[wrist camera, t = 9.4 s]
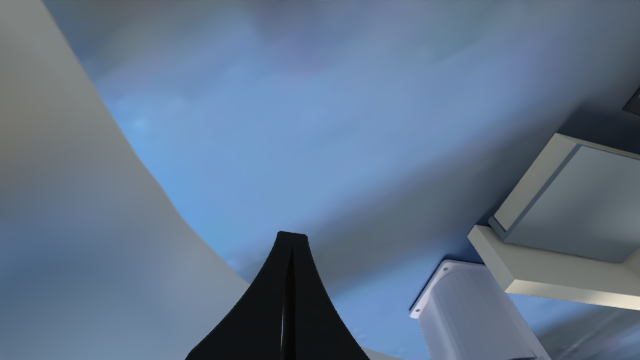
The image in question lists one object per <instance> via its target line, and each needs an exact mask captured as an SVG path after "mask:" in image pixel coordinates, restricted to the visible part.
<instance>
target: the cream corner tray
mask: <svg viewBox="0 0 640 360" xmlns="http://www.w3.org/2000/svg"><path fill="white" fill-rule="evenodd" d="M467 237H468V239H469V240H470V242H471V243H472V245H473V246H474V248H475V249H476V251H477V252H478V254H479V255H480V257H481V258H482V260H483V261H484V263H485V264H486V266H487V267H488V269H489V270H490V272H491V273H492V275H493V276H494V278H495V279H496V281H497V282H498V284H499V285H500V287H501V288H502V290H503V291H504V292H507V293H515V294H522V295H530V296H537V297H545V298H552V299H560V300H567V301H575V302H583V303H590V304H598V305H605V306H613V307H620V308H628V309H635V310H640V247H639V248H638V249H637V250H636V251H634V252H633V253H632V254H631V255H630V256H628V257H627V258H626V259H625V260H624V261H622V262H621V263H615V262H610V261H605V260H599V259H594V258H589V257H583V256H578V255H573V254H567V253H562V252H557V251H551V250H546V249H541V248H535V247H530V246H525V245H519V244H514V243H509V242H504V241H503V240H502V239H501V238H500V236H499V235H498V234H497V233H496V231H495V230H494V229H493V228H492V227H486V226H480V225H474V227H473V228H472V230H471V231H470V233H469V234H468V236H467Z"/></svg>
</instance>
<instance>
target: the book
mask: <svg viewBox="0 0 640 360" xmlns="http://www.w3.org/2000/svg"><path fill="white" fill-rule="evenodd" d="M487 222H488V223H489V224H490V225H491V226H492V228H493V229H494V230H495V231H496V233H497V234H498V235H499V236H500V238H501V239H502V240H503V241H504V242H509V243H514V244H519V245H525V246H530V247H535V248H541V249H546V250H551V251H557V252H562V253H567V254H573V255H578V256H583V257H589V258H594V259H599V260H605V261H610V262H615V263H621V262H622V261H624V260H625V259H626V258H627V257H628V256H630V255H631V254H632V253H633V252H634V251H636V250H637V249H638V248H639V247H640V155H638V154H634V153H630V152H626V151H623V150H619V149H615V148H611V147H607V146H604V145H600V144H596V143H592V142H588V141H585V140H581V139H577V138H573V137H569V136H566V135H562V134H558V133H555V134H554V135H553V137H552V138H551V139H550V141H549V142H548V144H547V145H546V146H545V148H544V149H543V150H542V152H541V153H540V154H539V156H538V157H537V158H536V160H535V161H534V162H533V164H532V165H531V166H530V168H529V169H528V170H527V172H526V173H525V174H524V176H523V177H522V178H521V180H520V181H519V182H518V184H517V185H516V187H515V188H514V189H513V191H512V192H511V193H510V195H509V196H508V197H507V199H506V200H505V201H504V203H503V204H502V205H501V207H500V208H499V209H498V211H497V212H496V213H495V215H494V217H492V216H491V217H490V218H489V220H488V221H487Z"/></svg>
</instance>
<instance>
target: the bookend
mask: <svg viewBox="0 0 640 360" xmlns="http://www.w3.org/2000/svg"><path fill="white" fill-rule="evenodd" d="M623 110H624V111H627V112H630V113H633V114H636V115H639V116H640V89H639V90H638V91H637V92H636V94H635V95H634V96H633V97H632V99H631V100H630V101H629V102H628V104H627V105H626V106H625V107H624V108H623Z"/></svg>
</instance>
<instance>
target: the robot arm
mask: <svg viewBox="0 0 640 360" xmlns="http://www.w3.org/2000/svg"><path fill="white" fill-rule="evenodd" d="M409 315H410V317H411V318H418V321H419V324H420V327H421V330H422V333H423V336H424V339H425V342H426V345H427V348H428V351H429V354H430V357H431V360H551V359H550V357H549V356H548V354H547V353H546V351H545V350H544V348H543V347H542V345H541V344H540V342H539V341H538V339H537V338H536V336H535V335H534V333H533V332H532V330H531V329H530V327H529V326H528V324H527V323H526V321H525V320H524V318H523V317H522V315H521V314H520V312H519V311H518V309H517V308H516V306H515V305H514V304H513V302H512V301H511V299H510V298H509V296H508V295H507V293H506V292H504V291H503V290H502V288H501V287H500V285H499V284H498V282H497V281H496V279H495V278H494V276H493V275H492V273H491V272H490V270H489V269H488V267H487V266H486V265H483V264H476V263H469V262H462V261H455V260H444V261H443V262H442V263H441V265H440V266H439V268H438V269H437V271H436V272H435V274H434V275H433V277H432V278H431V280H430V281H429V283H428V284H427V286H426V288H425V289H424V291H423V292H422V294H421V295H420V297H419V298H418V300H417V301H416V303H415V304H414V306H413V308H412V309H411V311H410V312H409ZM282 316H283V335H282V346H281V333H282ZM185 360H370V359H369V358H368V356H367V355H366V354H365V353H364V351H363V350H362V349H361V347H360V346H359V345H358V343H357V342H356V341H355V339H354V338H353V336H352V335H351V333H350V332H349V330H348V329H347V327H346V326H345V324H344V323H343V321H342V320H341V318H340V316H339V315H338V313H337V311H336V310H335V308H334V306H333V304H332V302H331V300H330V298H329V296H328V294H327V292H326V290H325V288H324V286H323V284H322V281H321V279H320V277H319V274H318V271H317V269H316V266H315V263H314V260H313V257H312V254H311V251H310V247H309V243H308V237H307V236H306V235H305V234H298V233H291V232H284V231H279V232H278V233H277V238H276V241H275V243H274V246H273V248H272V250H271V252H270V254H269V256H268V258H267V260H266V262H265V263H264V265H263V267H262V268H261V270H260V272H259V273H258V275H257V276H256V278H255V279H254V281H253V282H252V284H251V285H250V287H249V288H248V289H247V291H246V292H245V294H244V295H243V296H242V297H241V299H240V300H239V301H238V302H237V303H236V305H235V306H234V307H233V308H232V310H231V311H230V312H229V313H228V314H227V315H226V316H225V317H224V319H223V320H222V321H221V322H220V323H219V324H218V325H217V326H216V327H215V328H214V329H213V330H212V331H211V332H210V333H209V334H208V335H207V336H206V337H205V338H204V339H203V340H202V341H201V342H200V343H199V344H198V345H197V346H196V347H195V348H193V349H192V350H191V352H190V353H189V354H188V356H187V357H186V359H185Z"/></svg>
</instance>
